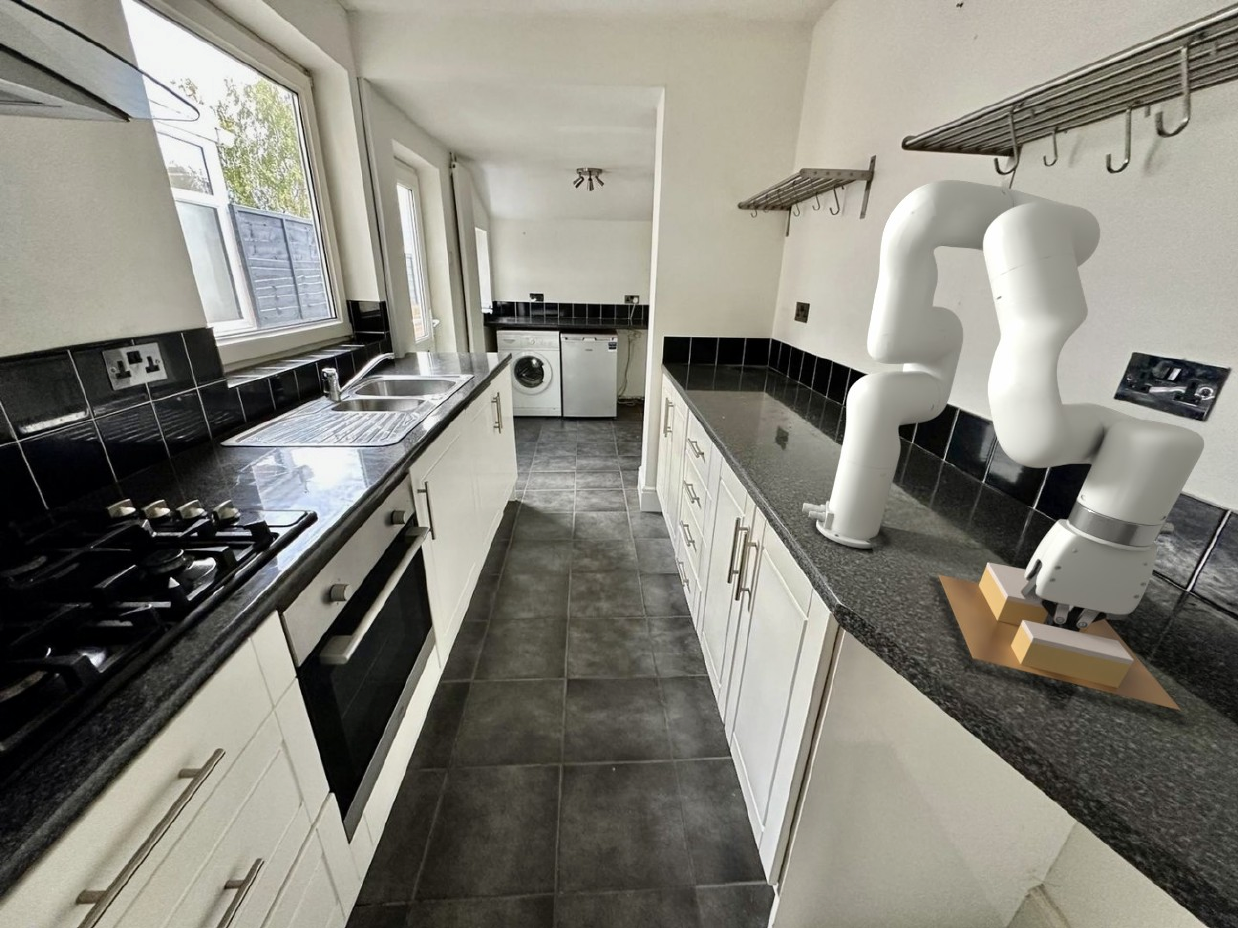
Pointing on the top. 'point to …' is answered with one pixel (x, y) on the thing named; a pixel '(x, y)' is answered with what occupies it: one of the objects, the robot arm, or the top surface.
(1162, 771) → the top surface
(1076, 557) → the robot arm
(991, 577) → the cake
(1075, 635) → the cake slice
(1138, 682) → the cutting board
